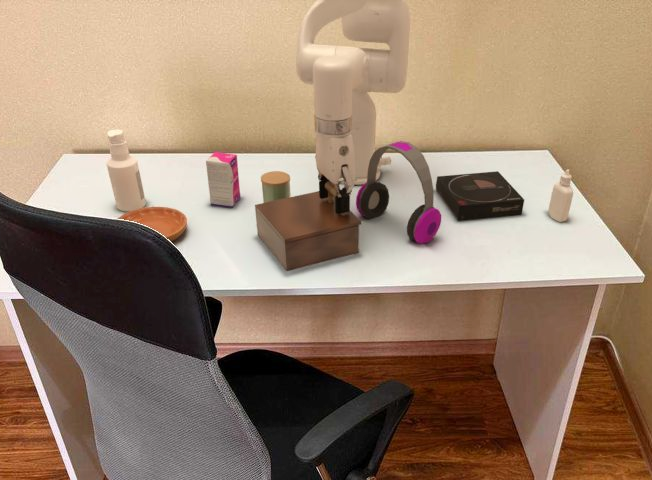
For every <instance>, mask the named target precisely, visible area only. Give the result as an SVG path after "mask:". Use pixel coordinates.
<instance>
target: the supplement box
mask: <svg viewBox="0 0 652 480" xmlns="http://www.w3.org/2000/svg"><path fill="white" fill-rule="evenodd" d="M205 166H206V173H207V174H206V175H207V184H208V193H209V201H210V206H212V207H219V208H227V209H233V208H234V207H235V205H236V204H237V203H238V201H239V200H240V199H241V189H240V187H241V186H240V177H239V165H238V154H233V153H226V152H220V151H215V152H213V153H212V154H211V155H210V156H209V157H208V158H207V159H206V160H205Z"/></svg>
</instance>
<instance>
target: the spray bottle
mask: <svg viewBox="0 0 652 480" xmlns="http://www.w3.org/2000/svg"><path fill="white" fill-rule="evenodd" d="M107 138H108V142H107V143H108V147H109V154H110V157H111V158H108V160H107V161H106V167H107V172H108V177H109V179H110V180H109V181H110V184H111V189H112V193H113V197H114V201H115V205H116V209H118V210H120V211H122V212H130V211H133V210H136V209H140V208H145V206H146V204H147V202H146V197H145V192H144V186H143V182H142V178H141V173H140V168H139V164H138V159H137V158H136V157H134V156H133V155H130V151H129V148H128V143H127V140H126V138H125V134H124V131H123V129H111V130H108V131H107Z"/></svg>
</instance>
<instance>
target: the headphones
mask: <svg viewBox="0 0 652 480" xmlns="http://www.w3.org/2000/svg"><path fill="white" fill-rule="evenodd" d="M387 150H392V151H393V150H394V151H395V152H397V153H399V154H400V155H402V156H403V157H404V158H405V160H407V161H408V163H409V164H410V165H411V166H412V168H413V170H414V171H415V174H416V175H417V178H418V180H419V181H420V184H421V188H422V191H423V197H424V204H421V205H420V206H418V207H417V208H416V209H414V211H413V212H412V213H411V215H410V217H409V219H408V222H407V225H406V235H407V237H408V238H409V239H410V241H413V242H414V241H415V242H416V243H417V244H422V245H424V244H428V243H429V242H430V241H432V240H433V239H434V237H435V236H436V235H437V233H438V231H439V230H440V227H441V223H442V213H441V211H440V210H439V209H438V208H436V207H435V206H434V193H435V192H434V186H433V178H432V175H431V170H430V166H429V164H428V162H427V160H426V158H425V156H424V154H423V153H422V152H421V150H420V149H419V148H418V147H417V146H416V145H414V144H412V143H410V142H409V141H402V140H399V141H396V142H392V143H389V144H386V145H383V146H381V147H378V148H377V150H375V152H374V153H373V155H372V157H371V159H370V162H369V166H368V175H367V182H366V183H365V184H361V186H360V188H359V189H358V192H357V195H356V198H355V206H356V210H357V212H358V213H359V214H360V215H361V216H363V217H365V218H367V219H369V220H371V219H376V218H379V217H381V216H382V215H383V214H384V213H385V212H386V210H387V208H388V207H389V206H388V205H389V203H390V193H389V188H388V187H387V185H386V184H384V183H382V182H381V181H377V180H376V173H377V167H378V164H379V161H380V158H381V157H382V158H383V155H384V154H385V153H386V152H387Z"/></svg>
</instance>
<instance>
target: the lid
mask: <svg viewBox="0 0 652 480" xmlns="http://www.w3.org/2000/svg"><path fill="white" fill-rule="evenodd" d="M325 188H326V189H327V190H328V198H323V199H321V198H320V197H319V190H317V191H313V192H308V193H304V194H300V195H294V196H291V197H289V198H285V199H280V200H275V201H271V202H266V203H264V202H262V203H257V204H254V209H255V208H256V210H257V211H258V212H259V213H260V214H261V215H262V217H263V218H264V219H265V220H266V221H267V222H268V224H269V225H270V226H271V227H272V228H273V229H274V231H275V232H276V233H277V234H278V235H279V237H280V238H281V239H282V240H283V241H284V242H285V243H287V242H291V241H295V240H299V239H303V238H307V237H311V236H315V235H320V234H324V233H328V232H332V231H336V230H340V229H344V228H348V227H353V226H357V225H359V226H360V225H362V220H361V219H360V218H359V217H358V216H357V215H355V214H354V212H352V211H351V210H350V211H349V212H345V213H341V214H336V213H335V196H337V193H336V189H335V184H334V183H332V182H331V181H328V182H326V183H325ZM341 189H342V188H340V190H341ZM332 195H333V196H332Z"/></svg>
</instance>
